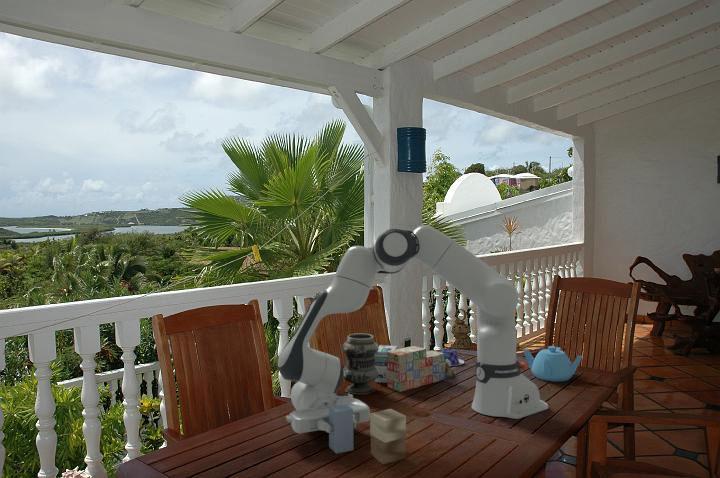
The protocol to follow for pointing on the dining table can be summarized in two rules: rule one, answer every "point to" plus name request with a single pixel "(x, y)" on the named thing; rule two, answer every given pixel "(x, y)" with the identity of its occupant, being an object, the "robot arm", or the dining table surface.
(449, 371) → the eagle figurine
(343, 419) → the pillar
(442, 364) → the stack of blocks
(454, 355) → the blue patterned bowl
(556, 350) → the teapot
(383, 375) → the light bulb box
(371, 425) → the tower top
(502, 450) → the dining table surface
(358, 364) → the apothecary jar
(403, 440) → the tower base
